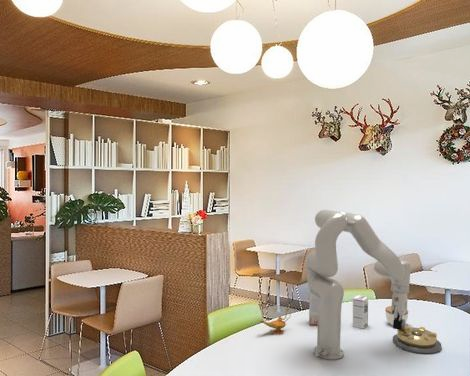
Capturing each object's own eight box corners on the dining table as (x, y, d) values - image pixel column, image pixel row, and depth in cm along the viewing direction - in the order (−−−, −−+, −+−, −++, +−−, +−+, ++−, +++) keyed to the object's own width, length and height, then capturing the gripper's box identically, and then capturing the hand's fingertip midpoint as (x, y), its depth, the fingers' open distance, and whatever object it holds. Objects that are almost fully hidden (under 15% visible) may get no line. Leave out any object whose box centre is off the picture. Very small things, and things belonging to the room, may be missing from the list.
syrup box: (363, 329, 213) (364, 299, 213) (352, 326, 217) (352, 297, 216) (367, 325, 218) (368, 297, 217) (356, 323, 221) (357, 294, 221)
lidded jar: (409, 329, 214) (410, 310, 213) (386, 327, 216) (387, 308, 215) (405, 321, 224) (406, 303, 224) (383, 320, 226) (384, 302, 226)
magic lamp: (255, 333, 206) (256, 310, 206) (285, 326, 216) (286, 304, 215) (264, 338, 201) (264, 314, 200) (294, 331, 210) (295, 308, 209)
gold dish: (414, 350, 185) (415, 331, 185) (389, 335, 200) (390, 318, 200) (444, 345, 191) (445, 327, 190) (418, 331, 206) (418, 315, 205)
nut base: (436, 358, 182) (436, 354, 182) (387, 346, 193) (387, 342, 193) (445, 342, 198) (445, 338, 198) (399, 332, 210) (399, 329, 209)
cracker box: (336, 322, 222) (337, 281, 221) (338, 326, 216) (339, 284, 215) (308, 321, 224) (309, 280, 223) (309, 325, 218) (310, 283, 217)
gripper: (404, 293, 188) (401, 335, 189) (412, 286, 200) (409, 326, 201) (386, 289, 192) (383, 331, 193) (395, 283, 204) (392, 322, 205)
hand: (397, 328), depth 197 cm, fingers closed
